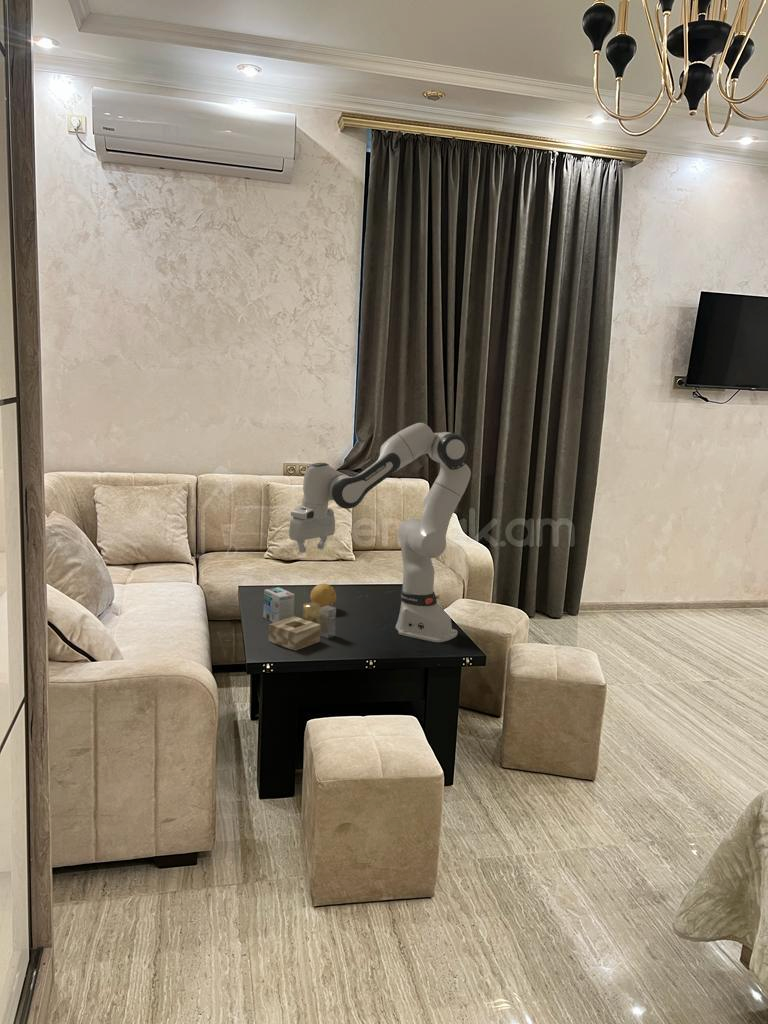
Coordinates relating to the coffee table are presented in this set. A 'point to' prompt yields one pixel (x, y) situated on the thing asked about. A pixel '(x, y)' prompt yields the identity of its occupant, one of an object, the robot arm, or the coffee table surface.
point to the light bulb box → (278, 604)
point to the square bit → (327, 621)
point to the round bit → (311, 612)
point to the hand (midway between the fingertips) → (311, 550)
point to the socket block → (294, 633)
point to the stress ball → (323, 595)
